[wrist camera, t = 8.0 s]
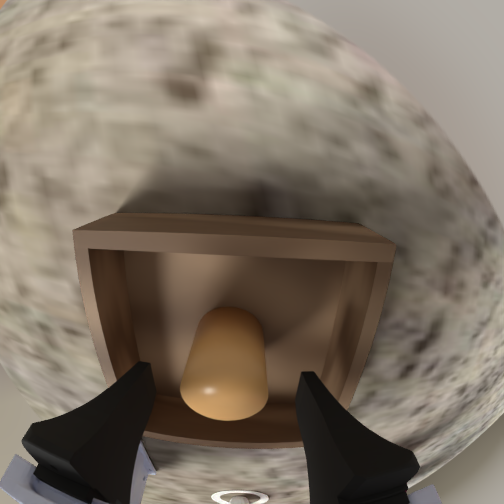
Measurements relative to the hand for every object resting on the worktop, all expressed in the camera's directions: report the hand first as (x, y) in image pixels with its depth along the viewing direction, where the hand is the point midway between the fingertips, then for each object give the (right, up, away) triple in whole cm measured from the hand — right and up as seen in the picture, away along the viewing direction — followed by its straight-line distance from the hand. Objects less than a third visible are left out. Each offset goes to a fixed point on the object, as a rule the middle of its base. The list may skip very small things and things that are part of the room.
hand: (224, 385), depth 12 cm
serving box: (0, +2, +5) cm, 5 cm away
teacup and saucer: (-3, -29, +15) cm, 33 cm away
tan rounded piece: (0, +1, +4) cm, 4 cm away
